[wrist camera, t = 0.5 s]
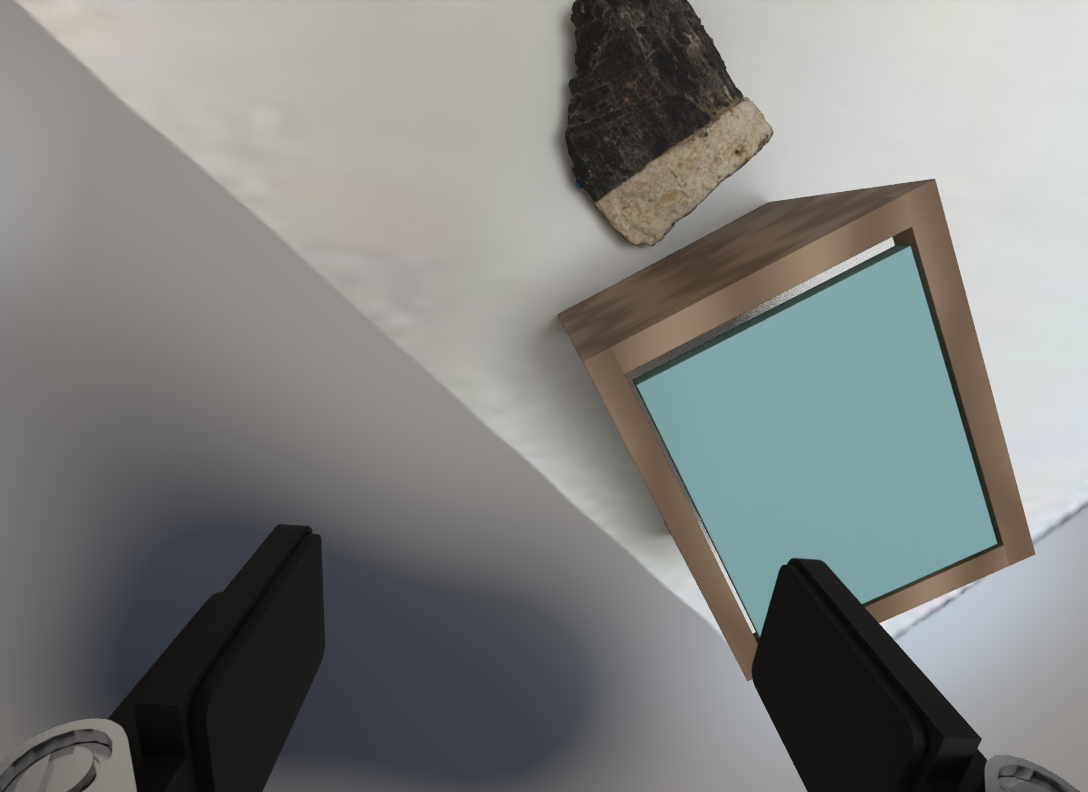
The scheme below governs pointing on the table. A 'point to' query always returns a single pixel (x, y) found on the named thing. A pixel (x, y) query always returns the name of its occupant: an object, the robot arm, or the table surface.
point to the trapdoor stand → (755, 277)
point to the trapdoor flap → (826, 438)
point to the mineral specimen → (653, 114)
